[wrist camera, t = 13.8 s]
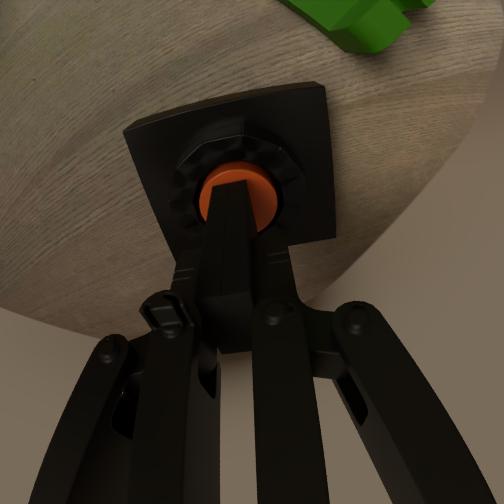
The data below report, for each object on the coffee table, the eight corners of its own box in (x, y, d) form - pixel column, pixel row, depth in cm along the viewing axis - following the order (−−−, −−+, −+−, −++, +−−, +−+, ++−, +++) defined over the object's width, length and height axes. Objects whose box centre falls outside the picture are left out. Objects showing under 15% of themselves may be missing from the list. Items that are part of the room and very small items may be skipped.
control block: (314, 80, 13) (335, 91, 10) (328, 218, 19) (344, 257, 16) (135, 120, 14) (107, 142, 11) (182, 244, 20) (172, 285, 17)
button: (267, 149, 14) (270, 162, 12) (278, 211, 16) (282, 230, 14) (194, 164, 14) (189, 178, 12) (213, 223, 16) (210, 242, 15)
